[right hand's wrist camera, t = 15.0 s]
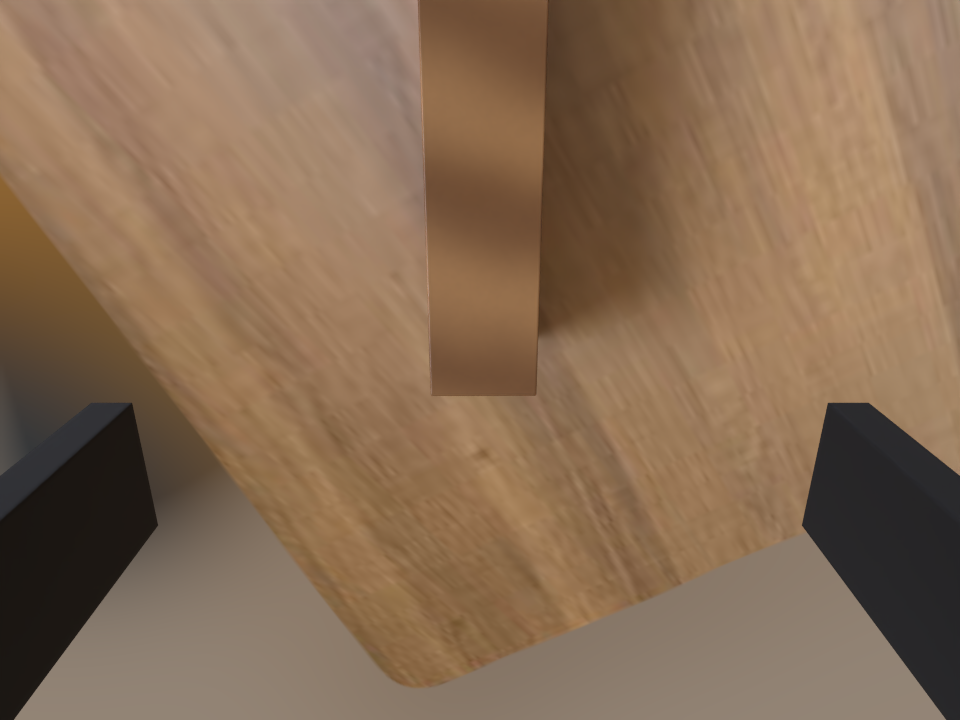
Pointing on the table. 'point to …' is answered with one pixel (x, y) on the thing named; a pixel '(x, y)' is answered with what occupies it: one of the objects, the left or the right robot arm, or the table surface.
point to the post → (483, 190)
